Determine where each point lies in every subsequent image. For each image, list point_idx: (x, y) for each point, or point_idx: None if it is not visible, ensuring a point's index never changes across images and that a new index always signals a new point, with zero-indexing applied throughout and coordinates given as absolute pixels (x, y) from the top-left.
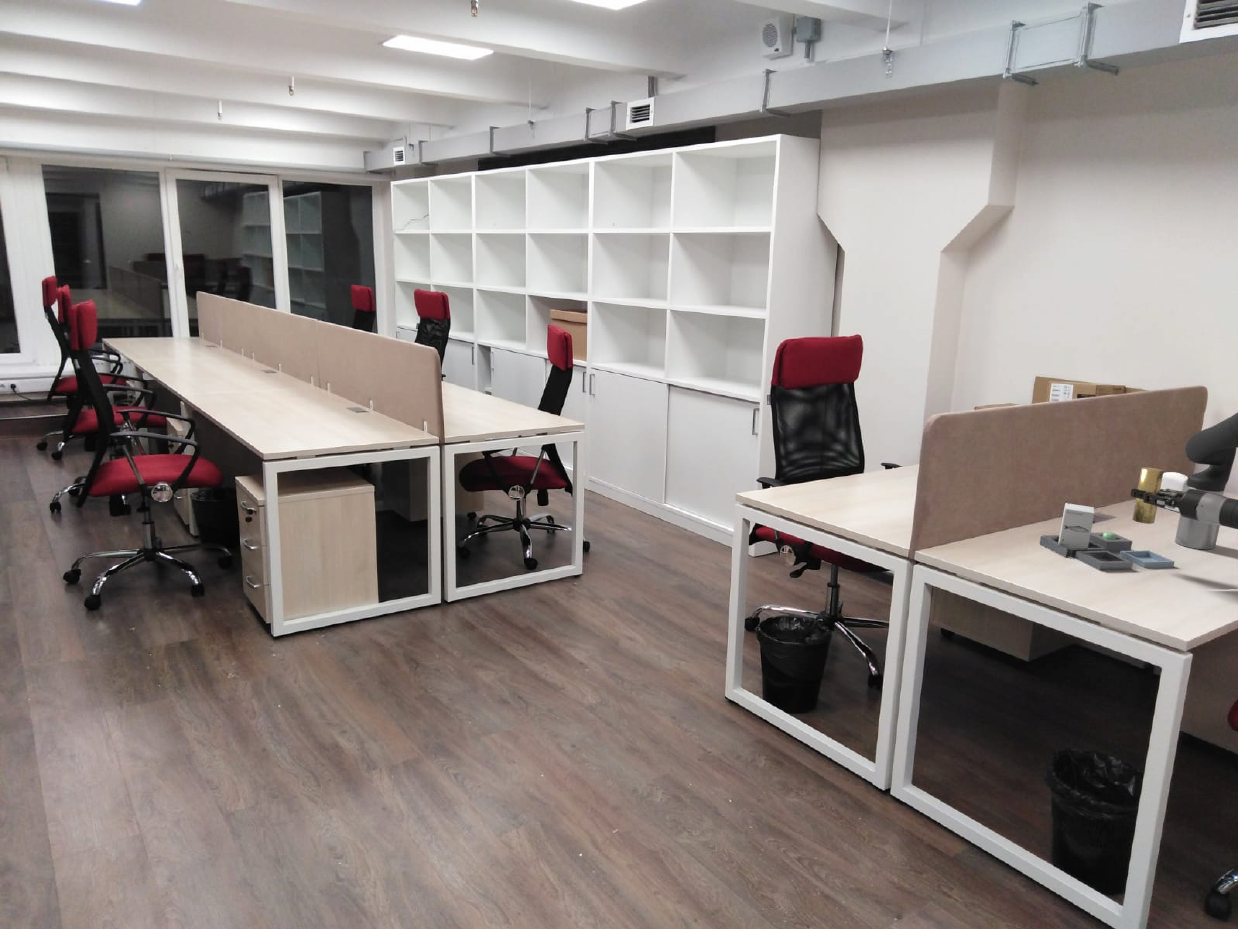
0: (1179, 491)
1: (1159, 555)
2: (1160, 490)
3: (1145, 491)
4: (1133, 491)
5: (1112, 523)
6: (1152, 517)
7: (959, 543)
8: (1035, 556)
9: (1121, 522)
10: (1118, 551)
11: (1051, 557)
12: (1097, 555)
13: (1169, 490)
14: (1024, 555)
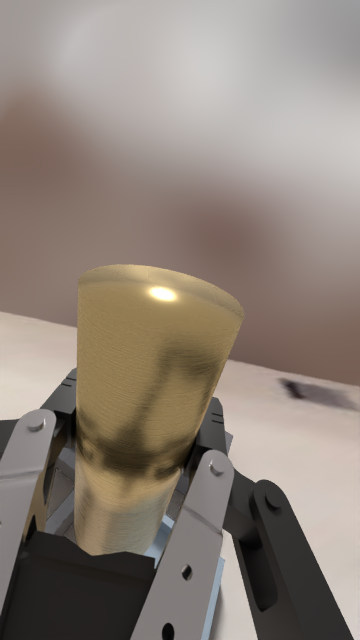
0: (326, 635)
1: (206, 626)
2: (200, 463)
3: (57, 406)
4: (76, 370)
5: (331, 417)
6: (94, 549)
7: (30, 321)
8: (21, 387)
9: (352, 424)
10: (177, 487)
11: (32, 405)
12: (65, 468)
13: (170, 548)
14: (16, 375)
